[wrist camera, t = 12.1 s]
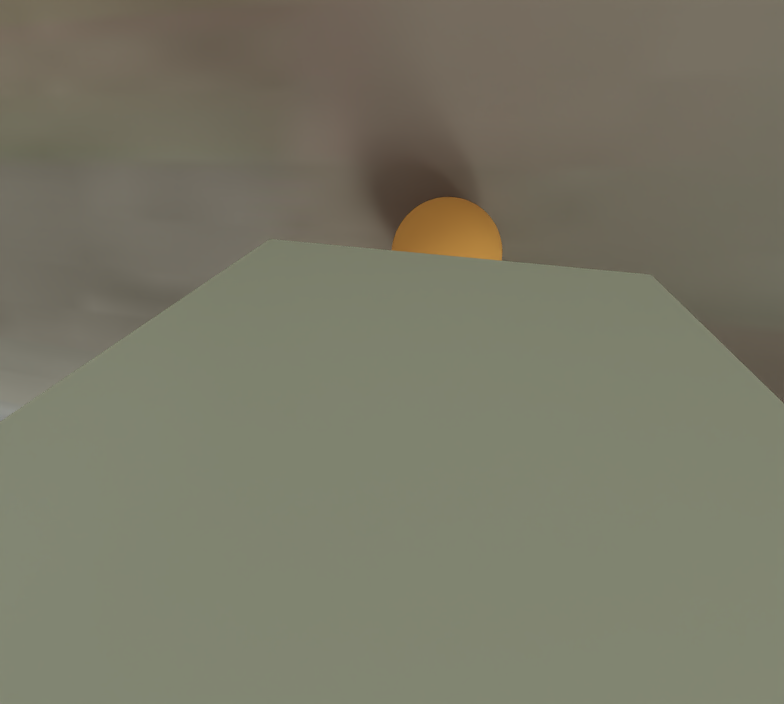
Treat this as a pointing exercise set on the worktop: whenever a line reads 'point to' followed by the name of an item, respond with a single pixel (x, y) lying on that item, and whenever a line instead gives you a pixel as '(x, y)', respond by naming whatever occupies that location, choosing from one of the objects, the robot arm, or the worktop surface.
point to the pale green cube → (398, 496)
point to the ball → (449, 230)
